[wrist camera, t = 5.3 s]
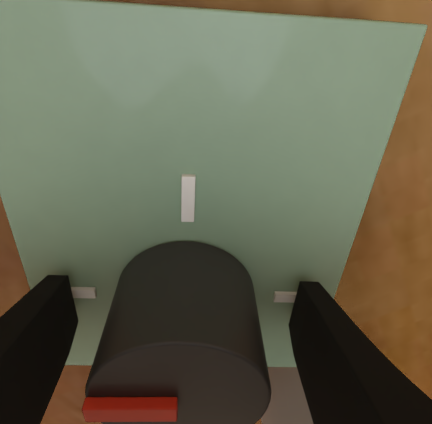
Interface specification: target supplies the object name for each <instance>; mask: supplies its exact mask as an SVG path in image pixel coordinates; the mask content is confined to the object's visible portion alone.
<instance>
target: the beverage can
mask: <svg viewBox="0 0 432 424" xmlns="http://www.w3.org/2000/svg"><path fill="white" fill-rule="evenodd" d="M268 372H269V378H270V384H271V392H272V393H271V400H270V403H269V406H268V408H267V410H266V412H265V413H264V415H263V416H262V417H261V421H262V424H313V421H312V417H311V414H310V410H309V407H308V404H307V400H306V397H305V393H304V390H303V387H302V383H301V380H300V376H299V373H298V369H297V367H270V368H268Z"/></svg>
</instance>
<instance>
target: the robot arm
mask: <svg viewBox="0 0 432 424" xmlns="http://www.w3.org/2000/svg"><path fill="white" fill-rule="evenodd" d="M77 325H78V316H77V312H76V307H75V303H74V299H73V294H72V290H71V286H70V281H69V277H68V275H47V276H46V277H45V278H44V279H43V280H41V281H40V282H39V283H38V284H37V285H36V286H35V287H34V288H32V289H31V290H30V291H29V292H28V293H27V294H26V295H25V296H24V297H23V298H21V299H20V300H19V301H18V302H17V303H16V304H15V305H14V306H13V307H11V308H10V309H9V310H8V311H7V312H6V313H5V314H4V315H2V316H1V317H0V424H40V423H41V420H42V418H43V416H44V413H45V411H46V409H47V406H48V404H49V401H50V399H51V397H52V394H53V392H54V390H55V387H56V385H57V382H58V380H59V378H60V375H61V373H62V370H63V368H64V366H65V363H66V361H67V358H68V356H69V353H70V350H71V347H72V343H73V340H74V336H75V333H76V329H77ZM288 325H289V331H290V338H291V344H292V349H293V355H294V359H295V362H296V366H297V369H298V373H299V376H300V380H301V383H302V387H303V390H304V393H305V397H306V400H307V404H308V407H309V410H310V414H311V417H312V421H313V424H432V400H431V399H430V398H429V397H428V396H427V395H426V394H425V393H424V392H422V391H421V390H420V389H419V388H418V387H417V386H416V385H415V384H413V383H412V382H411V381H410V380H409V379H408V378H407V377H406V376H405V375H404V374H403V373H402V372H401V371H400V370H398V369H397V368H396V367H395V366H394V365H393V364H392V363H391V362H390V361H389V360H388V359H387V358H386V357H385V356H384V355H383V354H382V353H381V352H380V351H379V349H378V348H377V347H376V346H375V345H374V344H373V343H372V342H371V341H370V340H369V339H368V338H367V337H366V335H365V334H364V333H363V332H362V331H361V330H360V329H359V328H358V327H357V326H356V325H355V323H354V322H353V321H352V320H351V319H350V318H349V317H348V315H347V314H346V313H345V312H344V311H343V310H342V308H341V307H340V306H339V305H338V304H337V303H336V301H335V300H334V299H333V298H332V297H331V295H330V294H329V293H328V292H327V291H326V290H325V288H324V287H323V286H322V285H321V284H320V283H319V282H313V281H300V282H299V286H298V290H297V294H296V298H295V301H294V305H293V309H292V313H291V317H290V321H289V324H288Z"/></svg>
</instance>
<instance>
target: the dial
mask: <svg viewBox="0 0 432 424" xmlns="http://www.w3.org/2000/svg"><path fill="white" fill-rule="evenodd" d="M271 393H272V392H271V384H270V378H269V372H268V367H267V361H266V355H265V350H264V344H263V338H262V332H261V327H260V321H259V315H258V310H257V304H256V298H255V293H254V287H253V282H252V279H251V277H250V275H249V273H248V271H247V270H246V268H245V267H244V266H243V264H242V263H241V262H240V261H239V260H238V259H236V258H235V257H234V256H232V255H231V254H229V253H228V252H226V251H224V250H222V249H220V248H218V247H215V246H212V245H209V244H205V243H200V242H191V241H177V242H169V243H164V244H160V245H157V246H154V247H152V248H149V249H147V250H145V251H143V252H142V253H140V254H139V255H137V256H136V257H135V258H133V259H132V260H131V261H130V262H129V263H128V264H127V266H126V267H125V268H124V270H123V271H122V273H121V275H120V278H119V281H118V284H117V287H116V291H115V294H114V297H113V300H112V303H111V307H110V310H109V313H108V316H107V319H106V323H105V326H104V329H103V332H102V335H101V339H100V342H99V345H98V348H97V351H96V355H95V358H94V361H93V364H92V367H91V371H90V374H89V377H88V380H87V383H86V389H85V395H86V398H85V401H84V404H83V407H82V411H83V415H84V418H85V421H86V422H101V423H102V424H255V423H256V422H257V421H258V420H259V419H260V418H261V417H262V416H263V415H264V413H265V412H266V410H267V408H268V406H269V403H270V400H271Z"/></svg>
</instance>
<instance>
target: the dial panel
mask: <svg viewBox="0 0 432 424" xmlns="http://www.w3.org/2000/svg"><path fill="white" fill-rule="evenodd" d="M426 30H427V25H426V24H417V23H404V22H391V21H379V20H366V19H352V18H338V17H324V16H310V15H296V14H282V13H268V12H254V11H240V10H226V9H211V8H197V7H183V6H169V5H155V4H141V3H127V2H113V1H99V0H0V196H1V199H2V202H3V205H4V208H5V211H6V214H7V217H8V221H9V224H10V227H11V230H12V233H13V236H14V239H15V243H16V246H17V249H18V252H19V255H20V258H21V261H22V265H23V268H24V271H25V274H26V277H27V280H28V283H29V286H30V290H31V289H32V288H34V287H35V286H36V285H37V284H38V283H39V282H40V281H41V280H43V279H44V278H45V277H46V276H47V275H68V277H69V281H70V286H71V290H72V294H73V299H74V303H75V307H76V312H77V316H78V325H77V329H76V333H75V336H74V340H73V343H72V347H71V350H70V353H69V356H68V358H67V361H66V363H65V365H92V364H93V361H94V358H95V355H96V351H97V348H98V345H99V342H100V339H101V335H102V332H103V329H104V326H105V323H106V319H107V316H108V313H109V310H110V307H111V303H112V300H113V297H114V294H115V291H116V287H117V284H118V281H119V278H120V275H121V273H122V271H123V270H124V268H125V267H126V266H127V264H128V263H129V262H130V261H131V260H132V259H133V258H135V257H136V256H137V255H139V254H140V253H142V252H143V251H145V250H147V249H149V248H152V247H154V246H157V245H160V244H164V243H169V242H177V241H191V242H200V243H205V244H209V245H212V246H215V247H218V248H220V249H222V250H224V251H226V252H228V253H229V254H231V255H232V256H234V257H235V258H236V259H238V260H239V261H240V262H241V263H242V264H243V266H244V267H245V268H246V270H247V271H248V273H249V275H250V277H251V279H252V282H253V287H254V293H255V298H256V304H257V310H258V315H259V321H260V327H261V332H262V338H263V344H264V350H265V355H266V361H267V367H297V366H296V362H295V359H294V355H293V349H292V344H291V338H290V331H289V325H288V324H289V321H290V317H291V313H292V309H293V305H294V301H295V298H296V294H297V290H298V286H299V282H300V281H313V282H319V283H320V284H321V285H322V286H323V287H324V288H325V290H326V291H327V292H328V293H329V294H330V295H331V297H332V298H333V299H334V296H335V293H336V290H337V287H338V284H339V282H340V279H341V276H342V273H343V270H344V267H345V264H346V261H347V258H348V256H349V253H350V250H351V247H352V244H353V241H354V238H355V235H356V232H357V229H358V227H359V224H360V221H361V218H362V215H363V212H364V209H365V206H366V203H367V201H368V198H369V195H370V192H371V189H372V186H373V183H374V180H375V177H376V175H377V172H378V169H379V166H380V163H381V160H382V157H383V154H384V151H385V148H386V146H387V143H388V140H389V137H390V134H391V131H392V128H393V125H394V122H395V120H396V117H397V114H398V111H399V108H400V105H401V102H402V99H403V96H404V93H405V91H406V88H407V85H408V82H409V79H410V76H411V73H412V70H413V67H414V65H415V62H416V59H417V56H418V53H419V50H420V47H421V44H422V41H423V39H424V36H425V33H426Z"/></svg>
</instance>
